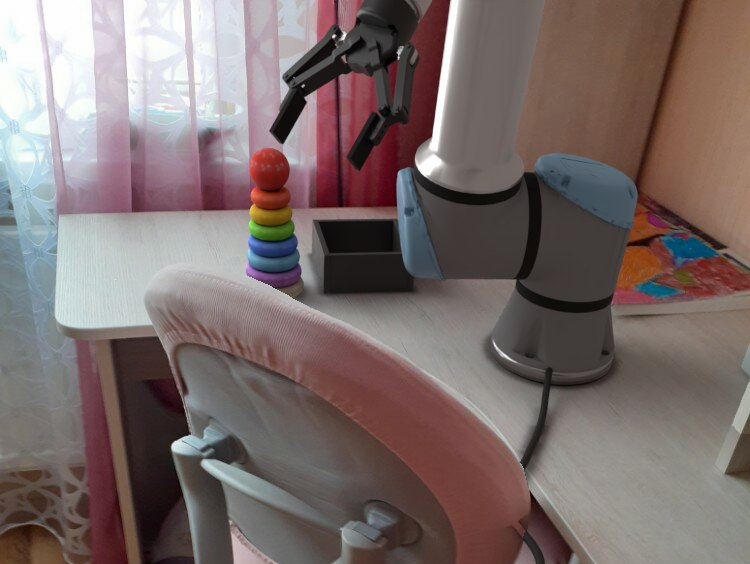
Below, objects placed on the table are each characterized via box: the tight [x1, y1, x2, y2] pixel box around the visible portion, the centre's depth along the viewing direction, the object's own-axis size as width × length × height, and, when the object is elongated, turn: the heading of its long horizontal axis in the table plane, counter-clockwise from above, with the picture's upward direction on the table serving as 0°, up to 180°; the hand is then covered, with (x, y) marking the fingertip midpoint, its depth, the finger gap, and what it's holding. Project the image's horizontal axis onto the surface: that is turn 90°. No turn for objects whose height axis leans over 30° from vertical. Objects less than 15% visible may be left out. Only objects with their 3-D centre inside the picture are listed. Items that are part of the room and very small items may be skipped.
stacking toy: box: [245, 147, 305, 299], centre depth 110 cm, size 8×8×19 cm
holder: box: [311, 218, 415, 295], centre depth 120 cm, size 13×13×6 cm
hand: (313, 150), depth 109 cm, fingers open, 13 cm apart
